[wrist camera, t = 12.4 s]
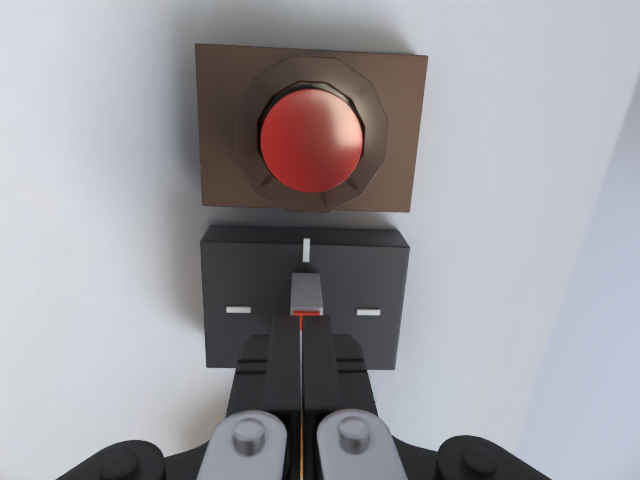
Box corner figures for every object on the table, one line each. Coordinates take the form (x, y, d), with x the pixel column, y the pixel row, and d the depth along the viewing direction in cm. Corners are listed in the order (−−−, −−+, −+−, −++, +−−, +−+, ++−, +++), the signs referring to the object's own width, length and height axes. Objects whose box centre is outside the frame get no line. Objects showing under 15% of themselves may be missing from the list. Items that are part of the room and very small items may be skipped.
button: (263, 182, 23) (260, 191, 21) (263, 85, 21) (260, 86, 20) (354, 185, 23) (358, 194, 21) (361, 90, 22) (366, 91, 20)
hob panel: (214, 346, 30) (205, 374, 27) (209, 219, 27) (198, 236, 24) (385, 348, 31) (395, 376, 28) (399, 225, 28) (411, 242, 25)
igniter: (208, 197, 27) (194, 216, 23) (202, 46, 24) (184, 39, 20) (402, 203, 28) (418, 223, 24) (418, 57, 25) (440, 53, 21)
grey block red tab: (315, 346, 27) (318, 394, 23) (289, 345, 27) (287, 393, 23) (319, 272, 26) (323, 310, 21) (292, 272, 25) (290, 309, 21)
